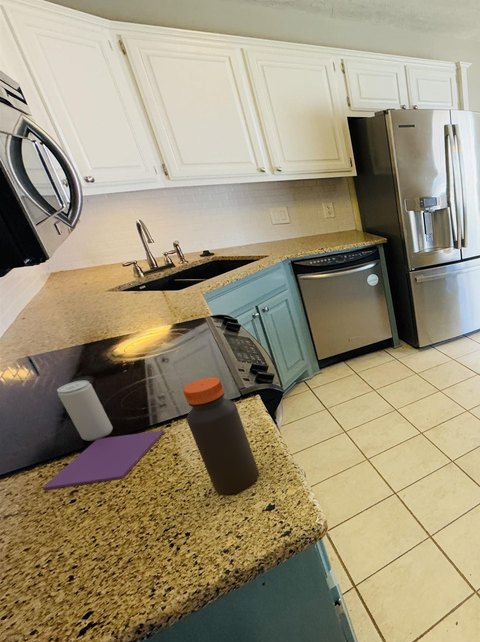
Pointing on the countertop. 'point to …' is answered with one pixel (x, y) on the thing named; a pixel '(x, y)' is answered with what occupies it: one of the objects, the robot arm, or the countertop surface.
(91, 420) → the beverage can
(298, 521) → the countertop surface
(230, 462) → the bottle
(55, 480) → the cloth
